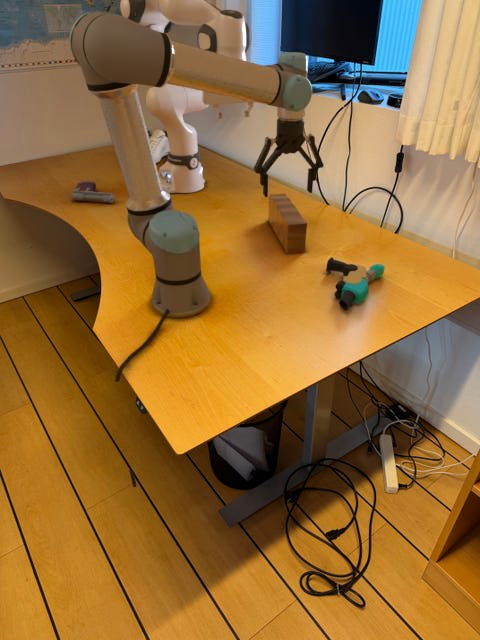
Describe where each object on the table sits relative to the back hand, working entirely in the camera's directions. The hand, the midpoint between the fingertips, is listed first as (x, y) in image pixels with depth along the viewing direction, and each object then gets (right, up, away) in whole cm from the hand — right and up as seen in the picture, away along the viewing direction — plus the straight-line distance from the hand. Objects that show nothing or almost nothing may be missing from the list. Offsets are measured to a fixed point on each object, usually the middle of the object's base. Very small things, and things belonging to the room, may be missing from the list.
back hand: (233, 117), depth 159 cm
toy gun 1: (-54, -20, +28) cm, 64 cm away
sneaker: (-38, +8, +65) cm, 76 cm away
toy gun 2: (+31, -59, -29) cm, 73 cm away
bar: (+17, -40, -1) cm, 43 cm away
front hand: (+16, -30, -17) cm, 38 cm away
